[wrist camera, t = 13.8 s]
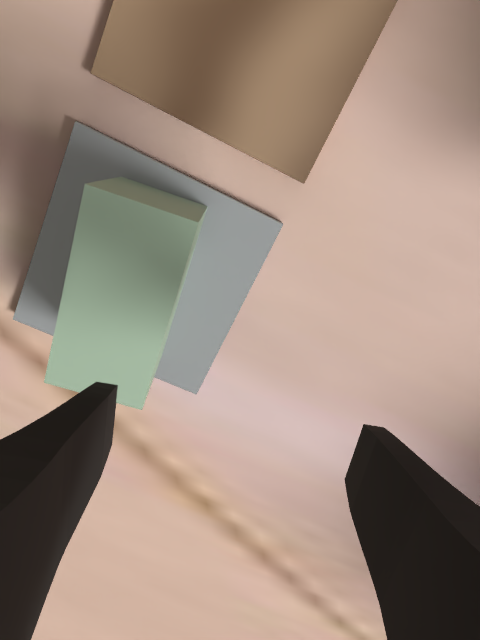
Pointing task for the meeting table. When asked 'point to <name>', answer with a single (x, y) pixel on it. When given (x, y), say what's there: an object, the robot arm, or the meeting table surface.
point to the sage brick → (122, 287)
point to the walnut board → (245, 67)
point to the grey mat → (204, 270)
